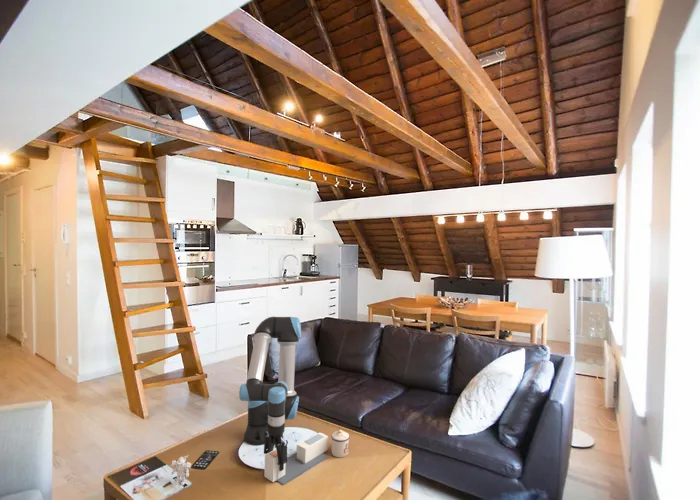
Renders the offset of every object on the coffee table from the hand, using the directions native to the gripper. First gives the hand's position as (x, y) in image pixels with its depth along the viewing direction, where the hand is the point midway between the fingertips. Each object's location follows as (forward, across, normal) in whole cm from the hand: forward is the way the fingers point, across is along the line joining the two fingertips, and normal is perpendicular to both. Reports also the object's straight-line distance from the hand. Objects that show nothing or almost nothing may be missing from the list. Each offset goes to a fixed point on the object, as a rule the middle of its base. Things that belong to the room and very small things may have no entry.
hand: (274, 473), depth 172 cm
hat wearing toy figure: (+2, -27, -30) cm, 40 cm away
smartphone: (+2, -35, -13) cm, 38 cm away
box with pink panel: (+1, 0, 0) cm, 1 cm away
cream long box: (+1, 0, +23) cm, 23 cm away
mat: (+2, 0, +14) cm, 14 cm away
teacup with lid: (+2, +8, +36) cm, 37 cm away
